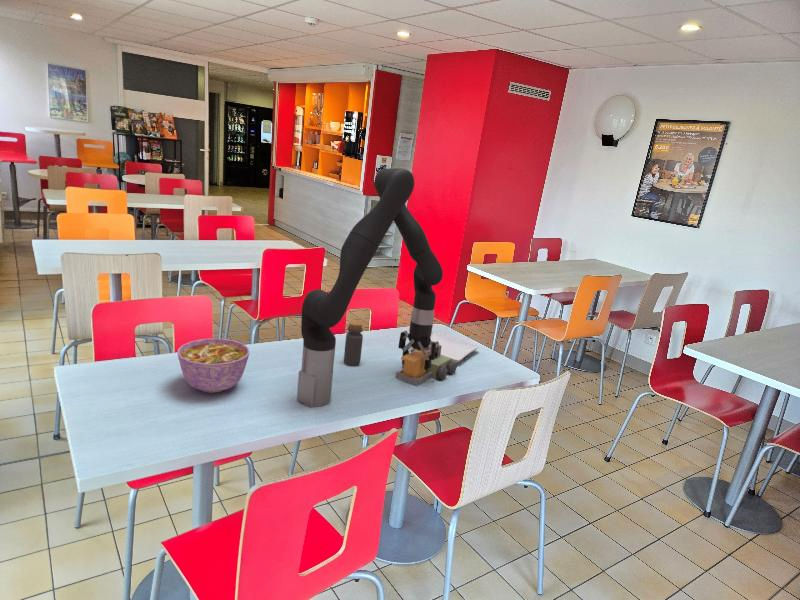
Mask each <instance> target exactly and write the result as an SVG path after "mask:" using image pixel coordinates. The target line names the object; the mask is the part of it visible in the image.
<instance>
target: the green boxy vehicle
mask: <svg viewBox="0 0 800 600" xmlns="http://www.w3.org/2000/svg"><path fill="white" fill-rule="evenodd" d="M429 347H430V350H432V348H431V345H429ZM441 347H442V346H441V345H439V347H438V357H437V358H436V359H434V360H431V367H430V368H429V369H428V370H426V374H425V375H423V376H421V377H420V378H418V379H416V378H413V377H410V376H408V375H405V374H403V370H404V368H402V369H400V370H398V371H396V372H395V379H398V380H400V379H401V380H400V381H403V382H405V381H406V383H408V384H411V385H412V386H416V387H418V386H419V384H420V385H421V384H423V383H425V382H426V380H427V381H428V380H430V379H435V380H437V379H438V380H440V381H444V380H445V379H446V377H447V375H448V374H449V375H454V374H455V373H456V371H457V368H458V362H457V363H455V362H452V358H449V357H446V356H443V355H441ZM416 350H418V349H416ZM425 350H426V349H425ZM418 351H420V350H418ZM420 352H422V351H420ZM401 365H402V366H403V367H404V362H403V360H402V359H401Z"/></svg>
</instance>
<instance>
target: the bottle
mask: <svg viewBox="0 0 800 600" xmlns="http://www.w3.org/2000/svg"><path fill="white" fill-rule="evenodd" d="M347 331H348V332H347V333H345V334H346V335H345V343H344V344H345V345H344V351H343V354H344V355H343V364H344V365H346V366H350V367H357V366H360V364H361V360H362V359H361V356H362V349H363V341H364V340H363V338H364V336H363V334H362V332H363V322H361V321H358V320H351V321H350V320H349V322H348V327H347Z"/></svg>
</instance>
